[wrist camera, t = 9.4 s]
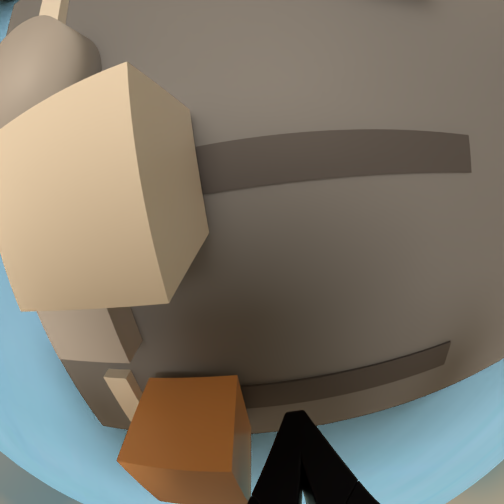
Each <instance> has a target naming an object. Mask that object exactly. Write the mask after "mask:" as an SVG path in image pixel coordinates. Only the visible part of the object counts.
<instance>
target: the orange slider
mask: <svg viewBox="0 0 504 504" xmlns="http://www.w3.org/2000/svg"><path fill="white" fill-rule="evenodd" d="M117 462H118V463H119V464H120V465H121V466H122V467H123V468H124V469H125V470H126V471H127V472H128V473H129V474H130V475H131V476H132V477H133V478H134V479H135V480H137V481H138V482H139V483H140V484H141V485H142V486H143V487H144V488H145V489H146V490H147V491H149V492H150V493H151V494H152V495H153V496H154V497H156V498H157V499H158V500H159V501H164V502H170V503H178V504H247V503H248V501H249V498H250V497H251V426H250V422H249V418H248V414H247V411H246V407H245V403H244V399H243V395H242V391H241V387H240V383H239V379H238V375H230V376H215V377H190V378H149V380H148V382H147V384H146V387H145V389H144V391H143V394H142V396H141V399H140V401H139V404H138V406H137V409H136V411H135V414H134V416H133V419H132V421H131V424H130V426H129V429H128V431H127V434H126V437H125V439H124V442H123V445H122V447H121V450H120V453H119V455H118V458H117Z"/></svg>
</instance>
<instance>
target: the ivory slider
mask: <svg viewBox="0 0 504 504" xmlns="http://www.w3.org/2000/svg"><path fill="white" fill-rule="evenodd" d="M208 234H209V228H208V223H207V217H206V212H205V206H204V200H203V194H202V188H201V182H200V176H199V170H198V163H197V157H196V150H195V144H194V137H193V130H192V123H191V116H190V109H188V108H187V107H186V106H185V105H183V104H182V103H181V102H180V101H178V100H177V99H176V98H175V97H173V96H172V95H171V94H170V93H168V92H167V91H166V90H165V89H163V88H162V87H161V86H159V85H158V84H157V83H155V82H154V81H153V80H151V79H150V78H149V77H148V76H146V75H145V74H143V73H142V72H141V71H139V70H138V69H137V68H135V67H134V66H133V65H131V64H130V63H128V62H124V63H122V64H119V65H116V66H114V67H111V68H109V69H106V70H104V71H101V72H99V73H97V74H94V75H92V76H90V77H88V78H86V79H83V80H81V81H79V82H77V83H75V84H73V85H71V86H69V87H67V88H65V89H63V90H61V91H59V92H58V93H56V94H54V95H52V96H50V97H49V98H47V99H45V100H43V101H42V102H40V103H38V104H37V105H35V106H33V107H32V108H30V109H29V110H27V111H25V112H24V113H22V114H21V115H19V116H18V117H16V118H15V119H13V120H12V121H11V122H9V123H8V124H6V125H5V126H4V127H2V128H1V129H0V253H1V257H2V260H3V263H4V267H5V270H6V273H7V276H8V279H9V282H10V284H11V287H12V290H13V293H14V295H15V298H16V300H17V303H18V305H19V308H20V310H21V311H59V310H82V309H100V308H116V307H131V306H144V305H156V304H168V303H170V301H171V299H172V297H173V295H174V293H175V292H176V290H177V288H178V286H179V284H180V283H181V281H182V279H183V277H184V276H185V274H186V272H187V270H188V269H189V267H190V265H191V263H192V262H193V260H194V258H195V256H196V255H197V253H198V251H199V249H200V248H201V246H202V244H203V243H204V241H205V239H206V238H207V236H208Z"/></svg>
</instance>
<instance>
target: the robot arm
mask: <svg viewBox="0 0 504 504" xmlns="http://www.w3.org/2000/svg"><path fill="white" fill-rule="evenodd" d="M302 491H303V493H304V497H305V501H306V504H380V503H379V502H378V501H377V500H376V499H374V497H373V496H372V495H371V494H370V493H369V492H368V491H367V490H366V489H365V487H364V486H363V485H362V484H361V483H360V481H358V479H357V478H356V477H355V475H354V474H353V473H352V472H351V470H350V469H349V468H348V467H347V465H346V464H345V463H344V462H343V460H342V459H341V458H340V457H339V455H338V454H337V453H336V451H335V450H334V449H333V448H332V446H331V445H330V444H329V442H328V441H327V440H326V438H325V437H324V436H323V435H322V433H321V432H320V431H319V429H318V428H317V427H316V425H315V424H314V423H313V421H312V420H311V418H310V417H309V416H308V414H307V413H306V412H305V411H304V410H297V411H290V412H286V413H285V415H284V417H283V420H282V423H281V425H280V428H279V431H278V433H277V436H276V438H275V441H274V443H273V446H272V448H271V451H270V453H269V456H268V458H267V460H266V463H265V465H264V468H263V470H262V472H261V475H260V477H259V479H258V481H257V484H256V486H255V488H254V490H253V492H252V496H251V497H250V498H249V501H248V503H247V504H302Z"/></svg>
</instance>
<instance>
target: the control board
mask: <svg viewBox="0 0 504 504" xmlns="http://www.w3.org/2000/svg"><path fill="white" fill-rule="evenodd" d="M124 62H128V63H130V64H131V65H133V66H134V67H135V68H137V69H138V70H139V71H141V72H142V73H143V74H145V75H146V76H148V77H149V78H150V79H151V80H153V81H154V82H155V83H157V84H158V85H159V86H161V87H162V88H163V89H165V90H166V91H167V92H168V93H170V94H171V95H172V96H173V97H175V98H176V99H177V100H178V101H180V102H181V103H182V104H183V105H185V106H186V107H187V108H188V109H190V116H191V123H192V130H193V137H194V144H195V150H196V157H197V163H198V170H199V176H200V182H201V188H202V194H203V200H204V206H205V212H206V217H207V223H208V228H209V234H208V236H207V238H206V239H205V241H204V243H203V244H202V246H201V248H200V249H199V251H198V253H197V255H196V256H195V258H194V260H193V262H192V263H191V265H190V267H189V269H188V270H187V272H186V274H185V276H184V277H183V279H182V281H181V283H180V284H179V286H178V288H177V290H176V292H175V293H174V295H173V297H172V299H171V301H170V303H168V304H156V305H144V306H131V307H116V308H100V309H82V310H59V311H37V313H38V316H39V318H40V320H41V323H42V325H43V327H44V329H45V331H46V333H47V336H48V338H49V340H50V342H51V344H52V346H53V348H54V350H55V351H56V353H57V355H58V357H59V359H60V360H61V362H62V364H63V365H64V367H65V369H66V371H67V372H68V374H69V376H70V378H71V379H72V381H73V382H74V384H75V386H76V387H77V389H78V391H79V392H80V394H81V395H82V397H83V398H84V400H85V401H86V403H87V404H88V406H89V407H90V409H91V410H92V411H93V413H94V414H95V416H96V417H97V418H98V420H99V421H100V422H101V424H102V425H103V426H108V427H114V428H120V429H127V430H128V429H129V426H130V424H131V421H132V419H133V416H134V414H135V411H136V409H137V406H138V404H139V401H140V399H141V396H142V394H143V391H144V389H145V387H146V384H147V382H148V380H149V378H190V377H215V376H230V375H238V379H239V383H240V387H241V391H242V395H243V399H244V403H245V407H246V411H247V414H248V418H249V422H250V426H251V434H253V433H265V432H275V431H279V428H280V425H281V423H282V420H283V417H284V415H285V413H286V412H290V411H297V410H304V411H305V412H306V413H307V414H308V416H309V417H310V418H311V420H312V421H313V423H314V424H315V425H316V426H317V425H323V424H328V423H333V422H338V421H342V420H347V419H351V418H355V417H359V416H363V415H367V414H371V413H374V412H378V411H381V410H385V409H388V408H391V407H395V406H398V405H401V404H404V403H407V402H410V401H412V400H415V399H418V398H421V397H423V396H426V395H429V394H431V393H434V392H436V391H438V390H441V389H443V388H446V387H448V386H450V385H452V384H455V383H457V382H459V381H461V380H463V379H465V378H468V377H470V376H472V375H474V374H476V373H478V372H479V371H481V370H483V369H485V368H487V367H489V366H491V365H493V364H494V363H496V362H498V361H500V360H501V359H503V358H504V0H19V1H18V2H17V3H16V4H14V7H13V11H12V15H11V18H10V22H9V26H8V31H7V35H6V37H5V38H4V39H3V41H2V42H1V43H0V129H1V128H2V127H4V126H5V125H6V124H8V123H9V122H11V121H12V120H13V119H15V118H16V117H18V116H19V115H21V114H22V113H24V112H25V111H27V110H29V109H30V108H32V107H33V106H35V105H37V104H38V103H40V102H42V101H43V100H45V99H47V98H49V97H50V96H52V95H54V94H56V93H58V92H59V91H61V90H63V89H65V88H67V87H69V86H71V85H73V84H75V83H77V82H79V81H81V80H83V79H86V78H88V77H90V76H92V75H94V74H97V73H99V72H101V71H104V70H106V69H109V68H111V67H114V66H116V65H119V64H122V63H124Z"/></svg>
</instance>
